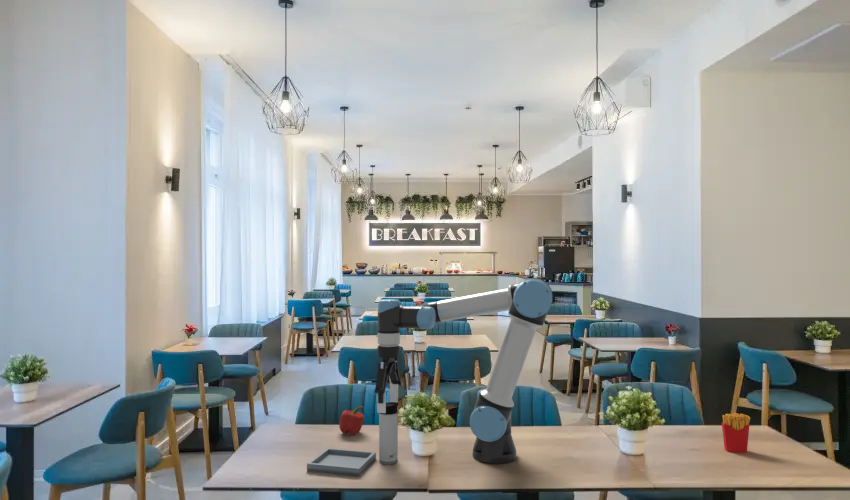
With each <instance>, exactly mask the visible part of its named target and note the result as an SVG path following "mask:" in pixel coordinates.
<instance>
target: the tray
mask: <svg viewBox="0 0 850 500" xmlns="http://www.w3.org/2000/svg"><path fill="white" fill-rule="evenodd" d="M376 460H377V451H366V450H355V449H342V448H332V447H327V448H325V449H324V450H323V451H322V452H320V453H319V454H317V455H316V456H315V457H314V458H313V459H311V460H310V461H309V462H307V463H306V472H309V473H318V474H319V473H320V474H329V475H340V476H349V477H360V476H361V475H362V474H363V473H364V472H365V471H366V470H367V469H368V468H369V467H370V466H372V464H374V462H375V461H376Z"/></svg>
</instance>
